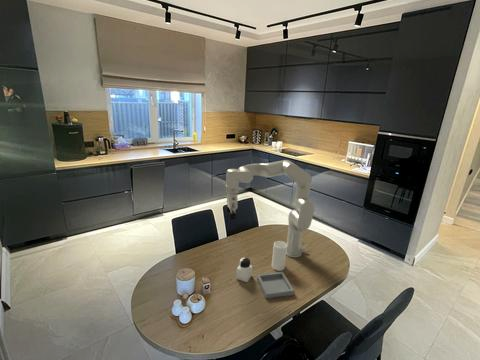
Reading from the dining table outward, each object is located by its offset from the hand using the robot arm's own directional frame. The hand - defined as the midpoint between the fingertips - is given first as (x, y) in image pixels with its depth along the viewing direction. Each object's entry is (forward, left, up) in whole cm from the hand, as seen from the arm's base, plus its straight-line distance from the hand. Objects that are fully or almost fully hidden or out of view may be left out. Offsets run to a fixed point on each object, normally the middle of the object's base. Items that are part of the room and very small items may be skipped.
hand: (231, 215), depth 158 cm
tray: (-20, +30, -31) cm, 48 cm away
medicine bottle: (-5, +19, -31) cm, 37 cm away
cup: (-29, +13, -31) cm, 45 cm away
